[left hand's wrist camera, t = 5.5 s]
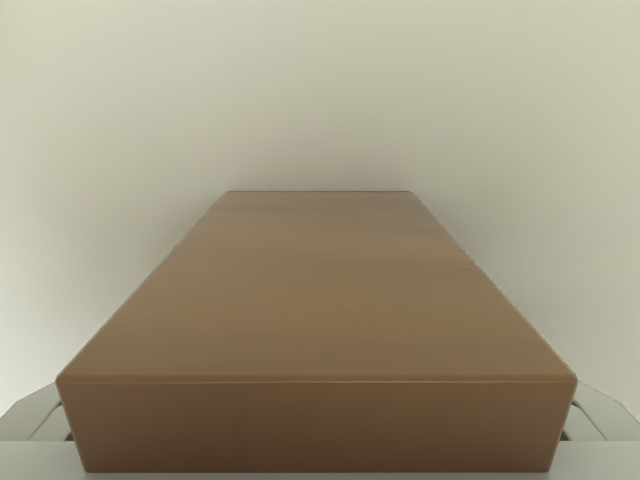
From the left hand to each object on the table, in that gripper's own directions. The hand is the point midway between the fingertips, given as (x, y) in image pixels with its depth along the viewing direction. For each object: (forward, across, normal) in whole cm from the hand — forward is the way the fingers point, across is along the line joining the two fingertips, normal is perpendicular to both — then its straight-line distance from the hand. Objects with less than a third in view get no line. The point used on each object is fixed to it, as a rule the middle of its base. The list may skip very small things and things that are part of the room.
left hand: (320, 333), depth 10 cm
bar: (+3, 0, -10) cm, 11 cm away
